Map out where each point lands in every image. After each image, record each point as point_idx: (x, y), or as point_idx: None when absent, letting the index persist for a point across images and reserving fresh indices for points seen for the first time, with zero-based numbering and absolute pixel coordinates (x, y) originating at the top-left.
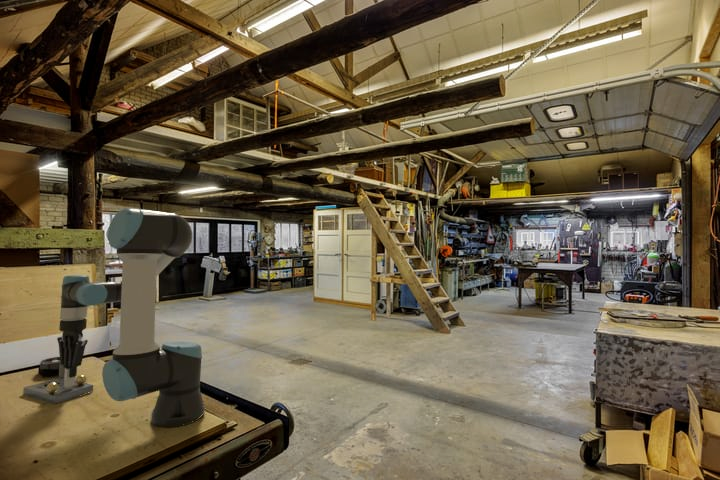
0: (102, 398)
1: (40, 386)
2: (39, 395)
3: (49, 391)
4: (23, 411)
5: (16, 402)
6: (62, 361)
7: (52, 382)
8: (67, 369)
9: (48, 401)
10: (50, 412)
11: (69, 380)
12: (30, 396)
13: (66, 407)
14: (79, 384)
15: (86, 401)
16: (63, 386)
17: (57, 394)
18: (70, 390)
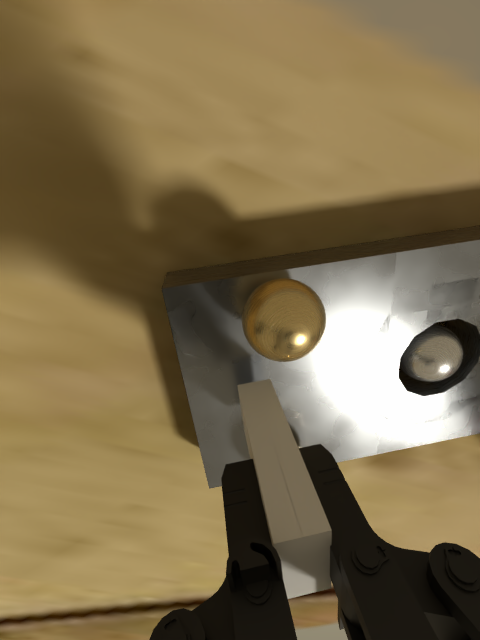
0: (55, 453)
1: (472, 302)
2: (353, 251)
3: (259, 287)
4: (191, 79)
5: (421, 134)
6: (470, 621)
7: (447, 366)
8: (273, 533)
9: (239, 262)
10: (10, 193)
11: (248, 437)
12: (436, 232)
13: (41, 294)
14: None
15: (69, 394)
16: (334, 386)
17: (201, 313)
18: (215, 388)
